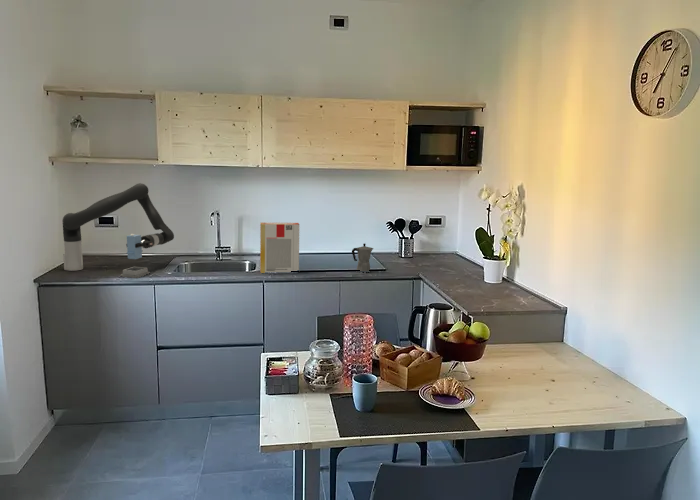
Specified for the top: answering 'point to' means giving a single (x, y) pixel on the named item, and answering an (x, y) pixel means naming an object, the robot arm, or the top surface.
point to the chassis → (135, 272)
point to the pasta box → (279, 247)
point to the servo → (131, 250)
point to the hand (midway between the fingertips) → (131, 245)
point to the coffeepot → (363, 257)
